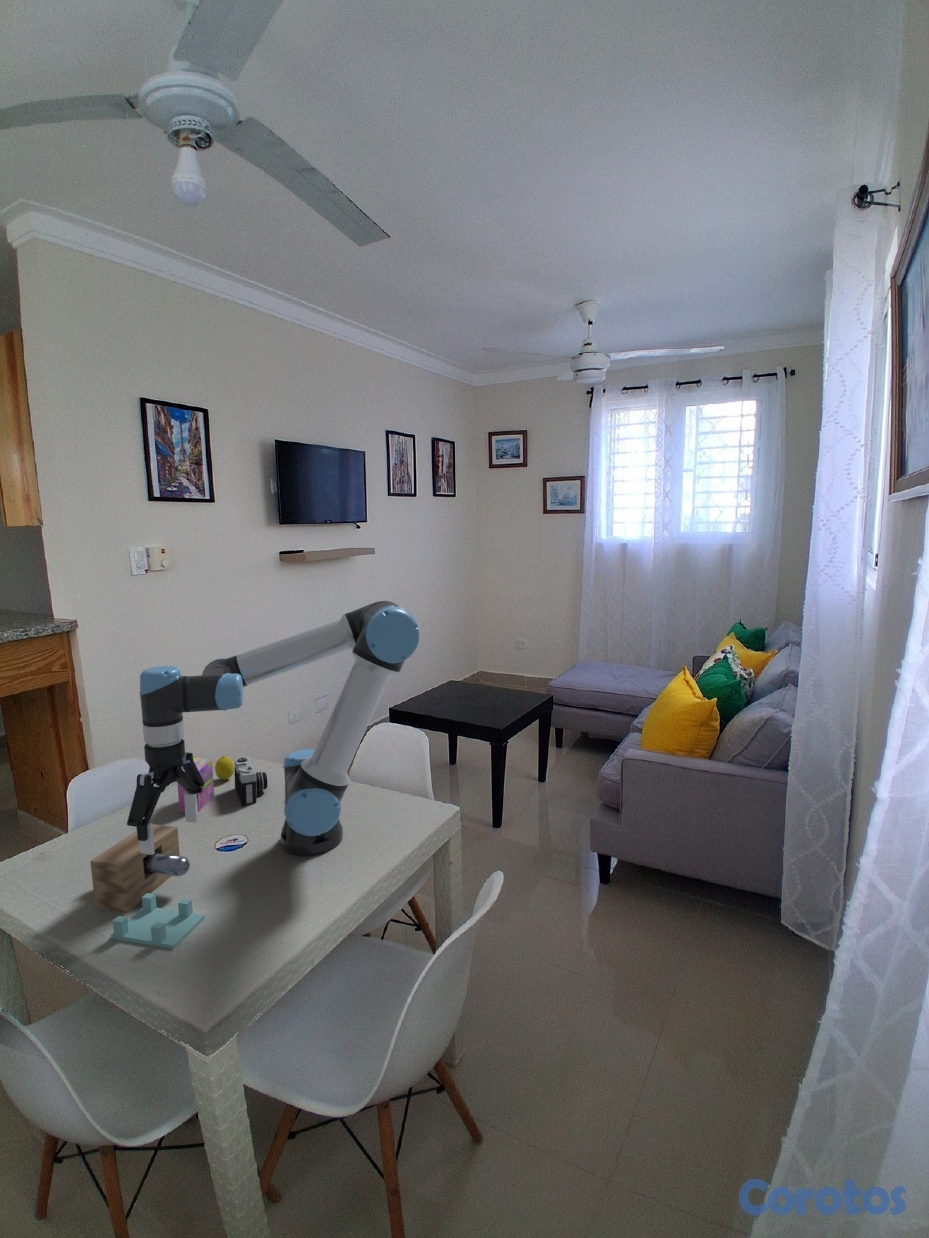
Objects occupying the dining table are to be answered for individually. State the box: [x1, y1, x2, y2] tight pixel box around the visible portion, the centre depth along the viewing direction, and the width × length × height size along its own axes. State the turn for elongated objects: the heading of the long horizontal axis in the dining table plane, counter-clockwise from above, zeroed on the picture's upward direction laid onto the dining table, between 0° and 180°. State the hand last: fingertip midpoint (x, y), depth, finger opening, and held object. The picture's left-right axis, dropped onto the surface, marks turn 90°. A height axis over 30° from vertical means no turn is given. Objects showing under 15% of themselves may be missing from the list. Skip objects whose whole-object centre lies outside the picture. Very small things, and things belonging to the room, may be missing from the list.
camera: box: [234, 757, 268, 807], centre depth 175 cm, size 14×9×10 cm, turn 21°
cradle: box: [110, 893, 206, 950], centre depth 117 cm, size 14×9×4 cm, turn 77°
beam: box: [89, 823, 181, 913], centre depth 130 cm, size 8×16×10 cm, turn 167°
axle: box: [143, 853, 191, 877], centre depth 130 cm, size 20×4×4 cm, turn 77°
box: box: [177, 757, 215, 813], centre depth 170 cm, size 10×6×12 cm, turn 179°
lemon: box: [214, 755, 235, 781], centre depth 186 cm, size 6×6×8 cm
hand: (171, 836), depth 127 cm, fingers open, 13 cm apart
